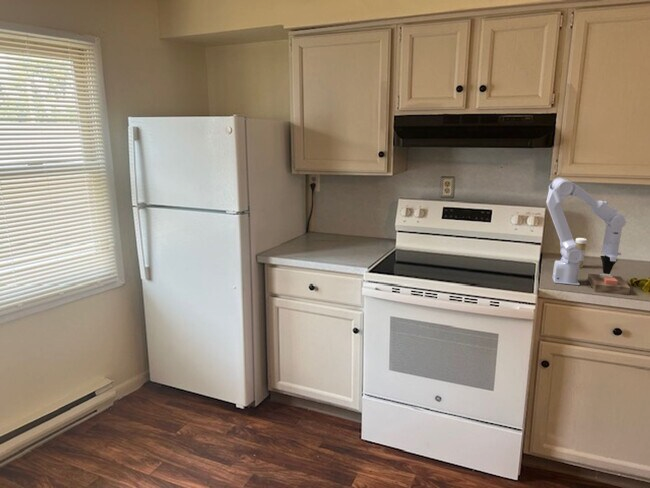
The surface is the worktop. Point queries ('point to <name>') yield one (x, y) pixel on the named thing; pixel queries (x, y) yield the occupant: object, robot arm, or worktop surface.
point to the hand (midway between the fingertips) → (606, 273)
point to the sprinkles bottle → (581, 248)
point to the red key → (610, 281)
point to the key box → (608, 285)
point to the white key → (605, 275)
